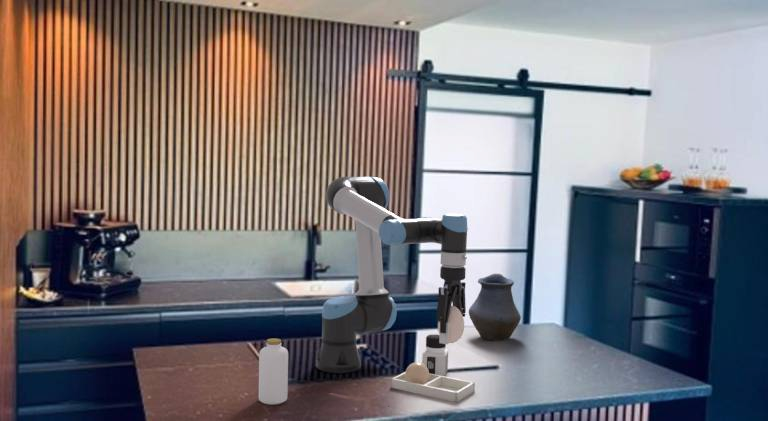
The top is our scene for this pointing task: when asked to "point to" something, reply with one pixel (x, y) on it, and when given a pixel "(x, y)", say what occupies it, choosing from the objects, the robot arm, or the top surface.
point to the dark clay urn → (495, 308)
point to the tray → (436, 387)
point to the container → (435, 355)
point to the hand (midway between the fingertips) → (450, 340)
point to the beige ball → (417, 373)
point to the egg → (454, 324)
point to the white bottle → (273, 373)
